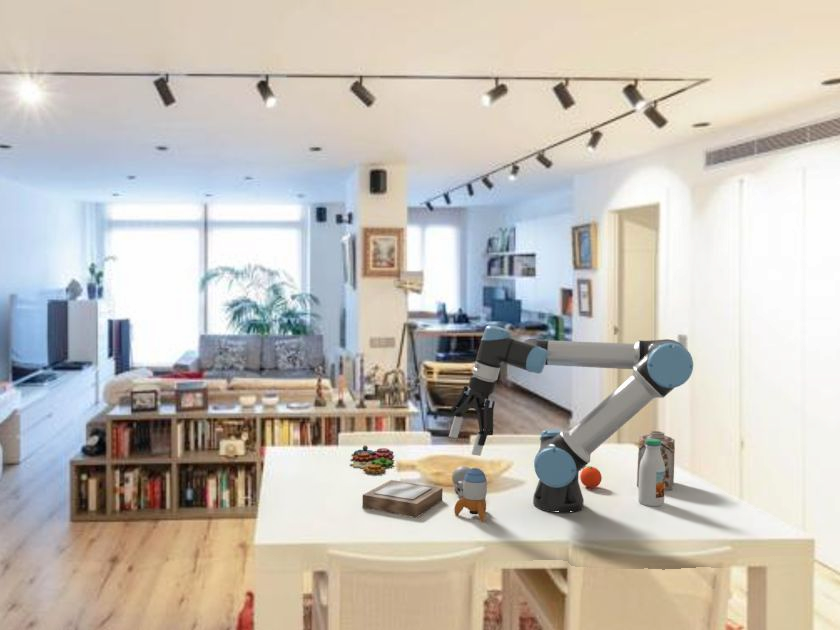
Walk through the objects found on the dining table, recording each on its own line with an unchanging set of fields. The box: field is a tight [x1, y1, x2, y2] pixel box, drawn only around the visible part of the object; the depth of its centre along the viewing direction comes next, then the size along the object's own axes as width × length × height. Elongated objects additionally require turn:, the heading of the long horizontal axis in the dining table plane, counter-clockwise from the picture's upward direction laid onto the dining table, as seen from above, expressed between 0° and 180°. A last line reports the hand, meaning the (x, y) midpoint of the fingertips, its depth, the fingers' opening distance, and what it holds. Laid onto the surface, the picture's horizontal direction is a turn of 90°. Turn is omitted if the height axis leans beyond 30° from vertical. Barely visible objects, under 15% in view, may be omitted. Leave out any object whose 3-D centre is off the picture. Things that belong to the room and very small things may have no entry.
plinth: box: [361, 479, 443, 518], centre depth 226 cm, size 18×18×4 cm
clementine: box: [579, 465, 603, 489], centre depth 247 cm, size 8×7×7 cm
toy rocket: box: [453, 467, 488, 523], centre depth 216 cm, size 10×11×15 cm
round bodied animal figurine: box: [451, 465, 471, 499], centre depth 237 cm, size 7×12×8 cm, turn 170°
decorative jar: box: [636, 430, 676, 491], centre depth 251 cm, size 12×12×18 cm
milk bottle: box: [637, 438, 666, 507], centre depth 231 cm, size 8×8×20 cm
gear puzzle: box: [349, 444, 395, 474], centre depth 273 cm, size 31×16×4 cm, turn 3°
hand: (464, 445), depth 220 cm, fingers open, 13 cm apart
